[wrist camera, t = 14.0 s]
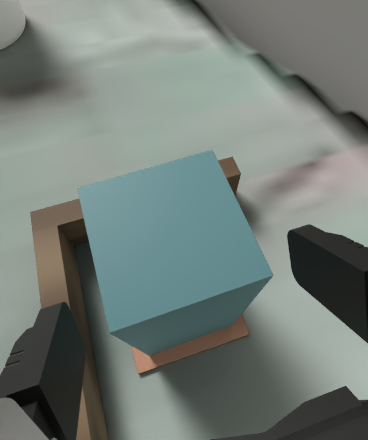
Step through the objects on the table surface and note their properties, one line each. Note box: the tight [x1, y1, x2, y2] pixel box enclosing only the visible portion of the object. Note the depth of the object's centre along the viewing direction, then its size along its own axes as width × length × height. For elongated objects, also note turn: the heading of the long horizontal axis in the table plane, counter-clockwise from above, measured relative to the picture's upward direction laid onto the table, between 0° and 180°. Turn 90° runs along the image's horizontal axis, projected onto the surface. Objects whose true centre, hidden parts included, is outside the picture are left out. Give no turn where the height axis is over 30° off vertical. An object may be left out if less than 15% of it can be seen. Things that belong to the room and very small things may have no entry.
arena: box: [30, 157, 249, 440], centre depth 18 cm, size 13×13×3 cm
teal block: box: [77, 150, 273, 356], centre depth 15 cm, size 5×5×10 cm
